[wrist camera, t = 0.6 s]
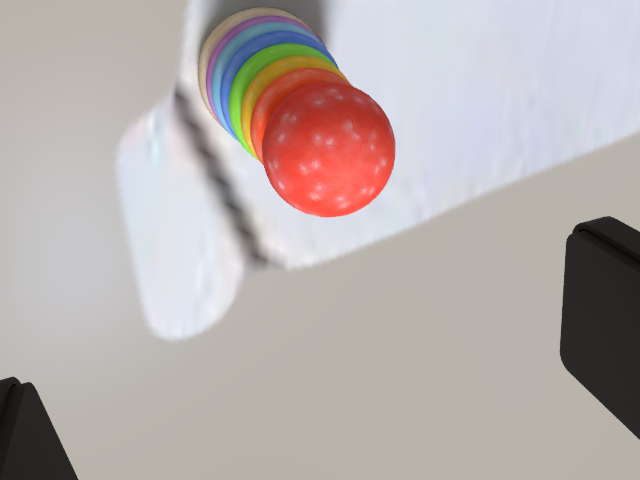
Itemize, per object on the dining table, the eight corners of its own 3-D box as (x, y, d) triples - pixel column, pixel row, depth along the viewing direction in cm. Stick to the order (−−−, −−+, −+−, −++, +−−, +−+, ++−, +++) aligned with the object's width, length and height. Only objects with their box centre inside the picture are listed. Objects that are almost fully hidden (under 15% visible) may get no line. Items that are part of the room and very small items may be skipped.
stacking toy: (232, -21, 34) (317, -7, 18) (345, 47, 37) (505, 111, 21) (174, 103, 36) (203, 218, 20) (287, 156, 39) (392, 294, 23)
